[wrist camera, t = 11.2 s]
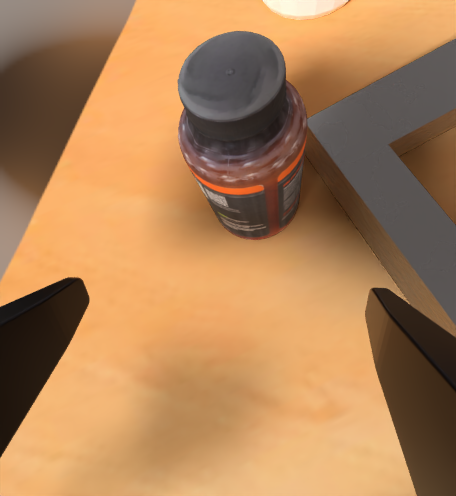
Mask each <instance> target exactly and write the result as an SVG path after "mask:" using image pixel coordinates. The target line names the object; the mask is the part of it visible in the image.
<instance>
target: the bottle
mask: <svg viewBox="0 0 456 496" xmlns="http://www.w3.org/2000/svg"><path fill="white" fill-rule="evenodd" d="M262 1H263V2H264V3H265V4H266V5H267V6H268V8H269V9H270V10H271V11H272V12H274V13H276V14H278V15H280V16H282V17H284V18H290V19H295V20H306V19H315V18H319V17H322V16H325V15H328V14H331V13H332V12H334V11H336V10H337V9H339V8H341V7H343V6H344V5H345V4H346V3H347V1H348V0H262Z"/></svg>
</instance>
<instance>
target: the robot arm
mask: <svg viewBox="0 0 456 496" xmlns="http://www.w3.org/2000/svg"><path fill="white" fill-rule="evenodd" d="M88 304H89V295H88V292H87V290H86V287H85V285H84V282H83V280H82V279H81V278H77V277H68V278H65V279H63V280H61V281H58V282H56V283H54V284H51V285H49V286H47V287H45V288H42V289H40V290H38V291H35V292H33V293H31V294H29V295H26V296H24V297H22V298H19V299H17V300H15V301H13V302H10V303H8V304H6V305H4V306H1V307H0V458H1V456H2V454H3V453H4V451H5V449H6V448H7V446H8V445H9V443H10V441H11V440H12V438H13V436H14V435H15V433H16V431H17V430H18V428H19V426H20V425H21V423H22V421H23V420H24V418H25V417H26V415H27V413H28V412H29V410H30V408H31V407H32V405H33V403H34V402H35V400H36V398H37V397H38V395H39V393H40V392H41V390H42V388H43V387H44V385H45V384H46V382H47V380H48V379H49V377H50V375H51V374H52V372H53V370H54V369H55V367H56V365H57V364H58V362H59V360H60V359H61V357H62V356H63V354H64V352H65V351H66V349H67V347H68V345H69V344H70V342H71V340H72V338H73V336H74V334H75V332H76V329H77V327H78V325H79V323H80V321H81V319H82V317H83V315H84V313H85V311H86V309H87V307H88ZM365 317H366V323H367V328H368V333H369V338H370V343H371V348H372V353H373V358H374V363H375V368H376V371H377V375H378V378H379V381H380V384H381V387H382V390H383V393H384V396H385V399H386V402H387V405H388V408H389V412H390V415H391V418H392V421H393V424H394V427H395V430H396V433H397V436H398V439H399V442H400V445H401V448H402V451H403V454H404V457H405V461H406V464H407V467H408V470H409V473H410V476H411V479H412V482H413V485H414V488H415V491H416V494H417V496H456V337H455V336H453V335H452V334H450V333H449V332H448V331H446V330H445V329H443V328H442V327H441V326H439V325H438V324H436V323H435V322H434V321H432V320H431V319H429V318H428V317H427V316H425V315H424V314H422V313H421V312H420V311H418V310H417V309H415V308H414V307H413V306H411V305H410V304H408V303H407V302H406V301H404V300H403V299H401V298H400V297H399V296H397V295H396V294H394V293H393V292H392V291H390V290H389V289H386V288H372V289H371V290H370V292H369V296H368V301H367V306H366V311H365Z"/></svg>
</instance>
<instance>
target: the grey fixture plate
mask: <svg viewBox="0 0 456 496" xmlns="http://www.w3.org/2000/svg"><path fill="white" fill-rule="evenodd" d="M455 126H456V39H454V40H452V41H450V42H448V43H447V44H445V45H443V46H441V47H439V48H437V49H435V50H434V51H432V52H430V53H428V54H426V55H424V56H422V57H421V58H419V59H417V60H415V61H413V62H411V63H409V64H408V65H406V66H404V67H402V68H400V69H398V70H396V71H395V72H393V73H391V74H389V75H387V76H385V77H383V78H382V79H380V80H378V81H376V82H374V83H372V84H370V85H369V86H367V87H365V88H363V89H361V90H359V91H357V92H356V93H354V94H352V95H350V96H348V97H346V98H344V99H343V100H341V101H339V102H337V103H335V104H333V105H331V106H330V107H328V108H326V109H324V110H322V111H320V112H318V113H317V114H315V115H313V116H311V117H309V118H307V137H306V146H305V155H306V157H307V158H308V159H309V161H310V162H311V164H312V165H313V167H314V168H315V169H316V171H317V172H318V174H319V175H320V176H321V178H322V179H323V181H324V182H325V184H326V185H327V186H328V188H329V189H330V191H331V192H332V194H333V195H334V196H335V198H336V199H337V201H338V202H339V203H340V205H341V206H342V208H343V209H344V211H345V212H346V213H347V215H348V216H349V218H350V219H351V220H352V222H353V223H354V225H355V226H356V228H357V229H358V230H359V232H360V233H361V235H362V236H363V237H364V239H365V240H366V242H367V243H368V245H369V246H370V247H371V249H372V250H373V252H374V253H375V254H376V256H377V257H378V259H379V260H380V262H381V263H382V264H383V266H384V267H385V269H386V270H387V271H388V273H389V274H390V276H391V277H392V279H393V280H394V281H395V283H396V284H397V286H398V287H399V288H400V290H401V291H402V293H403V294H404V296H405V297H406V298H407V300H408V301H409V303H410V304H411V305H412V306H413V307H414V308H415V309H417V310H418V311H420V312H421V313H422V314H424V315H425V316H427V317H428V318H429V319H431V320H432V321H434V322H435V323H436V324H438V325H439V326H441V327H442V328H443V329H445V330H446V331H448V332H449V333H450V334H452V335H453V336H455V337H456V225H455V224H454V223H453V221H452V220H451V219H450V218H449V217H448V215H447V214H446V213H445V212H444V211H443V210H442V208H441V207H440V206H439V205H438V204H437V202H436V201H435V200H434V199H433V198H432V196H431V195H430V194H429V193H428V192H427V190H426V189H425V188H424V187H423V186H422V184H421V183H420V182H419V181H418V180H417V178H416V177H415V176H414V175H413V174H412V172H411V171H410V170H409V169H408V168H407V167H406V165H405V164H404V163H403V162H402V161H401V159H400V158H399V156H401V155H402V154H404V153H406V152H408V151H410V150H412V149H414V148H416V147H418V146H419V145H421V144H423V143H425V142H427V141H429V140H431V139H433V138H434V137H436V136H438V135H440V134H442V133H444V132H446V131H448V130H449V129H451V128H453V127H455Z"/></svg>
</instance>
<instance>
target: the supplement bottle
mask: <svg viewBox="0 0 456 496" xmlns="http://www.w3.org/2000/svg"><path fill="white" fill-rule="evenodd" d="M178 91H179V95H180V98H181V101H182V103H183V105H184V110H183V112H182V115H181V118H180V122H179V134H178V139H179V144H180V148H181V151H182V154H183V156H184V159H185V161H186V163H187V164H188V166H189V168H190V170H191V172H192V174H193V175H194V177H195V179H196V181H197V182H198V184H199V186H200V188H201V189H202V191H203V193H204V195H205V196H206V198H207V200H208V202H209V203H210V205H211V207H212V209H213V211H214V212H215V214H216V216H217V218H218V219H219V221H220V222H221V223H222V225H223V226H224V227H225V228H226V229H227V230H228V231H229V232H231V233H232V234H234V235H236V236H238V237H241V238H244V239H251V240H259V239H265V238H268V237H271V236H274V235H275V234H277V233H279V232H281V231H282V230H283V229H285V228H286V227H287V225H288V224H289V223H290V222H291V220H292V219H293V217H294V215H295V213H296V210H297V206H298V203H299V196H300V187H301V179H302V171H303V162H304V155H305V146H306V137H307V114H306V109H305V106H304V104H303V101H302V98H301V96H300V95H299V93H298V92H297V90H296V89H295V88H294V87H293V85H291V84H290V83H289V82H288V81H287V80H286V68H285V61H284V57H283V55H282V53H281V51H280V50H279V48H278V47H277V46H276V45H275V44H274V43H273V42H272V41H271V40H270V39H268V38H266V37H264V36H262V35H260V34H256V33H253V32H246V31H234V32H228V33H224V34H221V35H218V36H215V37H213V38H211V39H209V40H207V41H205V42H204V43H202V44H201V45H199V46H198V47H197V48H196V49H195V50H194V51H193V52H192V53H191V54H190V55H189V56H188V58H187V59H186V60H185V62H184V64H183V66H182V68H181V71H180V74H179V79H178Z"/></svg>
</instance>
